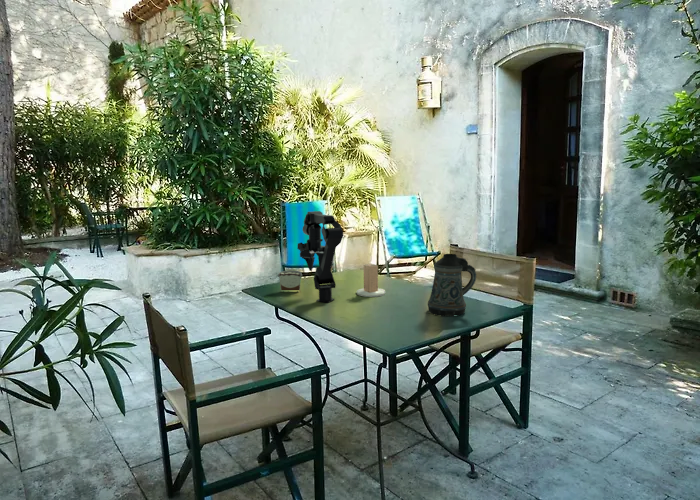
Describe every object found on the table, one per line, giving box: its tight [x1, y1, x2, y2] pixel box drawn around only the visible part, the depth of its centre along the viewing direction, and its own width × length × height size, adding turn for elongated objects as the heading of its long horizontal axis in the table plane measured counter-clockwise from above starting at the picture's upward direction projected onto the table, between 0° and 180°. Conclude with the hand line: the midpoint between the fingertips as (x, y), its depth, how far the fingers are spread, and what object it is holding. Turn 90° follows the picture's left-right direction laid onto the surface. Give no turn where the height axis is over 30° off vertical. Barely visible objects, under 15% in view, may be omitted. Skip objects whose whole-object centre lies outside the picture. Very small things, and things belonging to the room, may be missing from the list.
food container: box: [277, 270, 303, 291], centre depth 281 cm, size 12×6×10 cm, turn 84°
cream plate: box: [356, 287, 386, 298], centre depth 274 cm, size 14×14×1 cm
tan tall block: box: [363, 263, 379, 293], centre depth 273 cm, size 5×5×13 cm
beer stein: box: [427, 253, 477, 317], centre depth 239 cm, size 16×19×25 cm
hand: (315, 268), depth 271 cm, fingers open, 9 cm apart
